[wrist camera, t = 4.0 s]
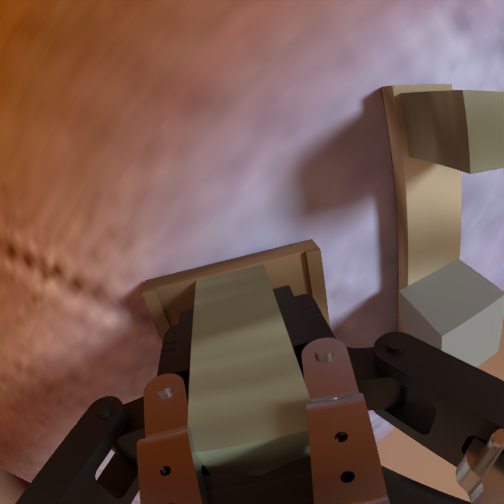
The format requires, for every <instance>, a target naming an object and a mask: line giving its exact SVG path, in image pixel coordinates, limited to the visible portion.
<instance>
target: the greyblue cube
mask: <svg viewBox="0 0 504 504" xmlns="http://www.w3.org/2000/svg"><path fill="white" fill-rule="evenodd" d="M399 297H400V303H401V310H402V317H403V324H404V332H405V333H407V334H410V335H412V336H414V337H416V338H418V339H420V340H422V341H424V342H426V343H428V344H430V345H432V346H434V347H436V348H438V349H440V350H442V351H444V352H446V353H448V354H450V355H452V356H454V357H456V358H458V359H460V360H462V361H464V362H466V363H468V364H470V365H472V366H474V367H477V366H479V365H480V364H482V363H483V362H484V361H486V360H487V359H489V358H490V357H491V356H492V355H494V354H495V353H497V352H498V349H499V343H500V337H501V331H502V324H503V317H504V292H503V291H502V290H501V289H499V288H498V287H497V286H495V285H494V284H493V283H491V282H490V281H489V280H487V279H486V278H485V277H483V276H482V275H481V274H479V273H478V272H476V271H475V270H474V269H472V268H471V267H469V266H468V265H466V264H465V263H464V262H462V261H461V260H459V259H456V260H454V261H452V262H451V263H449V264H447V265H445V266H444V267H442V268H440V269H438V270H436V271H435V272H433V273H431V274H429V275H427V276H425V277H424V278H422V279H420V280H418V281H416V282H414V283H412V284H410V285H408V286H407V287H405V288H403V289H401V290H399Z"/></svg>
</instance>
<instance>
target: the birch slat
mask: <svg viewBox="0 0 504 504" xmlns="http://www.w3.org/2000/svg"><path fill="white" fill-rule="evenodd" d="M381 90H382V95H383V101H384V106H385V112H386V118H387V125H388V132H389V139H390V146H391V154H392V163H393V172H394V183H395V194H396V208H397V226H398V260H399V286H398V319H397V332H404V324H403V317H402V310H401V303H400V297H399V290H401V289H403V288H405V287H407V286H408V285H410V284H412V283H414V282H416V281H418V280H420V279H422V278H424V277H425V276H427V275H429V274H431V273H433V272H435V271H436V270H438V269H440V268H442V267H444V266H445V265H447V264H449V263H451V262H452V261H454V260H456V259H459V256H460V240H461V206H462V199H461V171H463V172H466V173H469V174H473V173H478V172H483V171H489V170H494V169H500V168H504V92H493V91H471V90H452V85H447V84H424V85H393V86H385V87H381ZM404 333H405V332H404Z"/></svg>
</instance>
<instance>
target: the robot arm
mask: <svg viewBox="0 0 504 504" xmlns="http://www.w3.org/2000/svg"><path fill="white" fill-rule="evenodd" d="M272 290H273V292H274V295H275V298H276V301H277V304H278V307H279V310H280V312H281V315H282V318H283V321H284V324H285V327H286V330H287V332H288V335H289V338H290V341H291V344H292V347H293V350H294V353H295V355H296V358H297V361H298V364H299V367H300V370H301V373H302V376H303V379H304V381H305V384H306V387H307V390H308V393H309V396H310V399H311V402H309V403H306V412H307V422H308V433H309V445H310V456H307V457H303V458H299V459H295V460H293V461H291V462H289V463H287V464H285V465H283V466H281V467H278V468H276V469H274V470H272V471H269V472H267V473H265V474H262V475H259V476H246V475H228V474H216V475H211V473H210V472H209V471H208V469H207V468H206V467H205V465H204V464H203V463H202V461H201V460H200V458H199V457H198V456H197V454H196V453H195V449H194V445H193V440H192V434H191V429H190V427H188V401H189V378H190V359H191V342H192V327H193V313H194V308H191V309H187V310H183V311H180V315H179V322H178V324H177V325H173V326H170V327H169V329H168V330H167V332H166V333H165V334H164V338H163V346H162V349H161V352H162V353H161V355H160V361H159V367H158V373H157V377H155V378H154V379H152V380H151V381H150V382H149V383H148V384H147V385H146V387H145V389H144V396H143V397H141V398H139V399H136V400H134V401H131V402H129V403H126V404H124V405H123V404H122V402H121V401H120V400H119V399H118V398H116V397H113V396H107V397H103V398H100V399H98V400H97V401H95V402H94V403H93V404H92V405H91V406H90V407H89V408H88V410H87V411H86V412H85V413H84V415H83V416H82V417H81V418H80V420H79V421H78V422H77V424H76V425H75V426H74V427H73V429H72V430H71V431H70V432H69V434H68V435H67V436H66V438H65V439H64V440H63V441H62V443H61V444H60V445H59V447H58V448H57V449H56V450H55V452H54V453H53V454H52V456H51V457H50V458H49V460H48V461H47V462H46V464H45V465H44V466H43V467H42V469H41V470H40V471H39V473H38V474H37V475H36V477H35V478H34V479H33V481H32V482H31V483H30V485H29V486H28V487H27V489H26V490H25V491H24V493H23V494H22V495H21V497H20V498H19V499H18V501H17V502H16V504H131V503H132V501H133V499H134V498H135V496H136V494H137V493H138V491H140V502H141V504H504V381H503V380H501V379H499V378H497V377H494V376H492V375H490V374H488V373H486V372H484V371H482V370H480V369H478V368H476V367H474V366H472V365H470V364H468V363H466V362H464V361H462V360H460V359H458V358H456V357H454V356H452V355H450V354H448V353H446V352H444V351H442V350H440V349H438V348H436V347H434V346H432V345H430V344H428V343H426V342H424V341H422V340H420V339H418V338H416V337H414V336H412V335H410V334H407V333H404V332H391V333H387V334H385V335H383V336H381V337H380V338H378V339H377V341H376V342H375V344H374V347H372V348H350V347H346V345H345V344H344V343H343V342H342V341H340V340H338V339H336V338H335V336H334V335H333V333H332V331H331V329H330V327H329V325H328V323H327V321H326V320H325V318H324V316H323V315H322V312H321V310H320V309H319V307H318V305H317V303H316V301H315V299H313V298H312V297H310V296H308V295H307V294H302V295H298V296H294V295H293V292H292V290H291V288H290V286H289V285H286V286H282V287H278V288H274V289H272ZM368 410H374V412H375V413H376V414H378V415H379V416H380V417H382V418H383V419H385V420H386V421H388V422H389V423H390V424H392V425H393V426H395V427H396V428H398V429H399V430H401V431H402V432H404V433H405V434H407V435H408V436H410V437H411V438H413V439H414V440H416V441H417V442H419V443H420V444H422V445H423V446H425V447H426V448H428V449H429V450H431V451H432V452H434V453H435V454H437V455H438V456H440V457H442V458H443V459H445V460H446V461H448V462H449V463H451V464H453V465H454V466H456V467H457V469H456V479H457V482H458V484H459V485H460V486H461V487H462V488H463V489H464V490H465V491H466V492H467V493H468V496H469V499H470V502H468V501H465V500H462V499H460V498H457V497H454V496H451V495H448V494H446V493H444V492H441V491H438V490H436V489H433V488H431V487H428V486H426V485H424V484H421V483H419V482H417V481H414V480H411V479H409V478H407V477H405V476H403V475H401V474H398V473H396V472H394V471H392V470H390V469H387V468H386V467H383V466H381V464H380V459H379V454H378V450H377V446H376V442H375V438H374V434H373V429H372V425H371V422H370V418H369V414H368ZM111 449H112V450H113V451H114V452H115V454H114V455H113V457H112V458H111V460H110V461H109V463H108V464H107V466H106V467H105V469H104V470H103V472H102V473H101V475H100V476H99V478H98V479H97V480H96V479H95V474H96V471H97V469H98V468H99V466H100V465H101V463H102V462H103V460H104V459H105V458H106V456H107V455H108V453H109V452H110V450H111Z"/></svg>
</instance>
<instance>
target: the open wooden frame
mask: <svg viewBox="0 0 504 504" xmlns="http://www.w3.org/2000/svg"><path fill="white" fill-rule="evenodd" d="M286 285H289V286H290V288H291V290H292V292H293V295H294V296H298V295H302V294H307V295H308V296H310V297H312V298H313V299H315V301H316V303H317V305H318V307H319V309H320V310H321V312H322V315H323V316H324V318H325V320H326V321H327V323H328V325H329V315H328V306H327V298H326V289H325V281H324V274H323V266H322V259H321V251H320V248H319V247H318V246H317V245H316V244H315V242H314V241H313V240H312V239H310V240H306V241H302V242H298V243H294V244H290V245H286V246H282V247H278V248H274V249H270V250H266V251H262V252H258V253H254V254H250V255H246V256H242V257H238V258H234V259H230V260H226V261H222V262H218V263H214V264H210V265H206V266H202V267H198V268H194V269H190V270H186V271H182V272H178V273H174V274H170V275H166V276H162V277H158V278H154V279H149V280H146V283H145V286H144V288H143V291H142V296H143V298H144V300H145V303H146V305H147V307H148V310H149V312H150V314H151V317H152V319H153V321H154V323H155V326H156V328H157V330H158V332H159V334H160V336H161V339H162V341H163V338H164V334H165V333H166V332H167V330H168V329H169V327H170V326H173V325H177V324H178V322H179V315H180V311H183V310H187V309H191V308H194V313H193V327H192V342H191V359H190V378H189V401H188V427H190V429H191V434H192V440H193V445H194V449H195V453H196V454H197V456H198V457H199V458H200V460H201V461H202V463H203V464H204V465H205V467H206V468H207V469H208V471H209V472H210V473H211V475H216V474H228V475H246V476H259V475H262V474H265V473H267V472H269V471H272V470H274V469H276V468H278V467H281V466H283V465H285V464H287V463H289V462H291V461H293V460H295V459H299V458H303V457H307V456H310V445H309V433H308V422H307V412H306V403H309V402H311V399H310V396H309V393H308V390H307V387H306V384H305V381H304V379H303V376H302V373H301V370H300V367H299V364H298V361H297V358H296V355H295V353H294V350H293V347H292V344H291V341H290V338H289V335H288V332H287V330H286V327H285V324H284V321H283V318H282V315H281V312H280V310H279V307H278V304H277V301H276V298H275V295H274V292H273V290H272V289H274V288H278V287H282V286H286ZM329 327H330V325H329Z"/></svg>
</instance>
